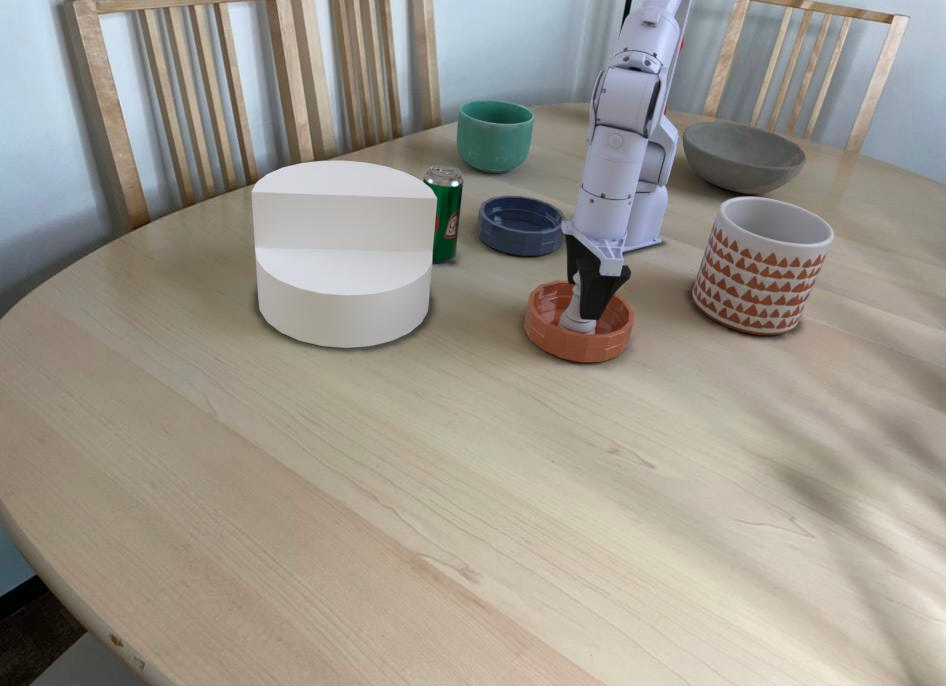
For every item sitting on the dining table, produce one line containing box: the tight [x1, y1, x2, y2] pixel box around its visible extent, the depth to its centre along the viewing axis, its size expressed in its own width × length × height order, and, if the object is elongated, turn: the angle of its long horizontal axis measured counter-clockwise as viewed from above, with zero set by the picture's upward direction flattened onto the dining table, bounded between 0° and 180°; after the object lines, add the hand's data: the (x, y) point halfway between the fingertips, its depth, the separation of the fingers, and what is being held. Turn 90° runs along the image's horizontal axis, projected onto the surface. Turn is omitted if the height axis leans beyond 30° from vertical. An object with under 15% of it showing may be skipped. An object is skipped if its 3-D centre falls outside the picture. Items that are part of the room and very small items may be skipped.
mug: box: [456, 99, 535, 174], centre depth 128 cm, size 17×13×10 cm
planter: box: [691, 196, 835, 336], centre depth 94 cm, size 14×14×13 cm
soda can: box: [422, 164, 464, 264], centre depth 97 cm, size 5×5×12 cm
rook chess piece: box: [558, 271, 596, 335], centre depth 85 cm, size 4×4×8 cm
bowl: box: [682, 121, 807, 195], centre depth 132 cm, size 21×21×8 cm
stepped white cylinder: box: [250, 160, 437, 349], centre depth 85 cm, size 20×20×13 cm
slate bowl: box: [476, 195, 567, 257], centre depth 106 cm, size 12×12×4 cm
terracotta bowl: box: [523, 279, 635, 363], centre depth 87 cm, size 12×12×4 cm
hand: (582, 299), depth 85 cm, fingers open, 7 cm apart
